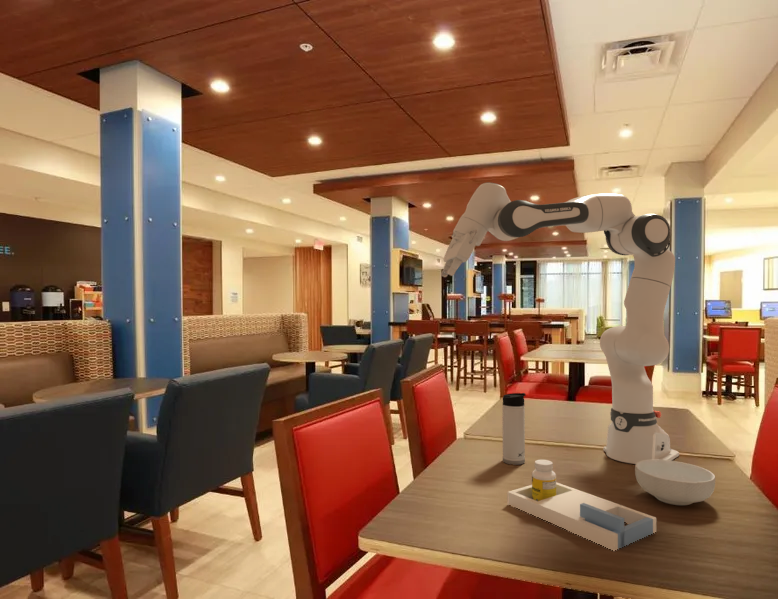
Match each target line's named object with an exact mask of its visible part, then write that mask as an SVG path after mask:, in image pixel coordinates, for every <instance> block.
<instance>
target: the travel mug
mask: <svg viewBox="0 0 778 599" xmlns="http://www.w3.org/2000/svg"><path fill="white" fill-rule="evenodd" d="M525 397H527V396H526V393H525V392H522V393H521V392H520V393H519V392H517V393H514V392H512V393H508V394H507V393H506V394H504V395H503V396H502V462H503V463H505V464H507V465H511V464H513V465H512V466H516V465H517V466H520V465H523V464H525V463H526V462H525V461H526V460H525V458H526V457H525V453H526V450H525V446H526V444H525V442H526V441H525V440H526V437H525V436H526V435H525V433H526V431H525V429H526V426H525V424H526V422H525V421H526V420H525V415H526V414H525V413H526V412H525V410H526V409H525V407H526V406H525Z"/></svg>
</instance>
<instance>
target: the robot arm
mask: <svg viewBox="0 0 778 599" xmlns="http://www.w3.org/2000/svg"><path fill="white" fill-rule="evenodd" d="M469 199H470V200H469V201H468V203H467V205H466V209H465V211H464V213H462V215H460V217H459V219H458V221H457V223H456V225H455V227H454V228H453V230H452V234H451V238H452V239H451V241H450V242H449V244H448V247H447V249H446V251H445V254H444V257H443V262H444V266H443V269H442V271H441V273H440V275H441V277H443V278H447V277H448V275H449V276H450V277H452V276H454V275H455V274H456V273H457V272H456V271H457V270H458V268H460V266H461V265H462V264H463V263H465V262H468V261H469V259H470V258H471V255H472V254H473V251H474V250H475V247H476V246H477V247H479V246H481V244H482V242H483V240H484V239H485V237H486V235H487V233H488V232H489V233H490V234H491V235H492V236H493V237H495V238H496V239H497V240H500V241H503V242H508V241H513V240H515V239H518V238H523V237H526V236H528V235H530V234H532V233H533V232H535V231H537V230H538V229H542V228H550V227H560V226H565V227H566V228H567V229H568V231H570V232H572V233H581V234H582V233H583V234H585V233H587V234H588V233H595V232H603V234H604V236H605V243H606V245H607V248H608V249H609V250H610V251H611V252H612V253H614V254H616V255H619V256H630V255H632V257H633V261H634V266H633V268H634V269H633V271H632V273H631V277H630V280H629V284H628V286H627V290H626V293H625V297H624V300H623V304H624V305H623V306H624V307H625V310H626V316H627V317H626V325H616V326H613V327H610V328H608V329H606V330H604V332H602V334H601V336H600V339H599V347H600V349H601V351H602V353H603V354H604V356H605V360H606V363H607V366H608V371H609V376H610V380H611V398H612V399H611V401H612V403H611V404H612V407H611V408H610V412H609V414H610V421H611V423H610V424H608V426H607V433H606V434H607V437H606V446H603V451H604V452H605V453H606V456H607V457H608V458H610V459H612V460H615V461H618V462H620V463H621V462H622V463H626V464H634V465H636V463H637V462H639V461H642V460H653V459H654V460H670V461H674V459H676V458H677V457H680V452H679V451H677V450H676V449H673V448H671V439H670V435H669V434H668V433H667V431H665V430H664V429H663V428H662V427H661V426H659V424H657V423H658V421H657V419H660V418H661V417H662V412H661V410H654V388H653V387H654V386H653V382H652V381H651V379H650V378H649V377H648V375H647V374H648V373H647V371H646V368H645V367H650V366H657V365H659V364H661V363H663V362H664V361H665V360H666V359H667V357H668V356H669V352H670V343H669V341H668V339H667V337H666V335H665V330H664V316H665V315H664V313H665V310H666V305H667V301H668V297H669V294H670V290H671V287H672V283H673V281H674V280H673V279H674V273H675V265H676V264H675V263H676V258H675V257H676V256H675V255H674V253H673V252H672V251H671V250H669V247H670V246H671V240H670V238H671V235H672V234H671V227H670V224H669V221H668V220H667V219H666V218H665V217H664V216H663V215H659V214H655V213H646V214H641V215H635V214H634V212H633V206H632V203H631V200H630V199H629V198H628V197H627V196H626V195H623V194H620V193H619V194H618V193H594V194H593V193H592V194H587V195H582V196H577V197H574V198H571V199H569V200H567V201H564V202H555V203H546V204H538V203H533V202H531V201H530V202H529V201H527V200H523V199H522V200H521V199H516V200H512V201H511V200H510V197H509V196H508V194H507V190H506V188H505V187H504V186H502V185H501V184H498V183H494V182H484V183H481V184H480V185H479V186H478V187H477V188H476V190H474V192H473V194H472V196H471V197H470V198H469Z"/></svg>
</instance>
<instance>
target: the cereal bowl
mask: <svg viewBox="0 0 778 599" xmlns="http://www.w3.org/2000/svg"><path fill="white" fill-rule="evenodd" d="M634 465H635V467H634V474H635V478H636V482H637V483H638V485H639V486H640V488H642V490H644V491H645V492H647V493H648V494H649V495H651V496H653V497H654V498H655V499H656V500H658V501H660V502H663V503H665V504H669V505H675V506H688V505H689V506H690V505H692V504H693V503H700V502H703V501H706V500H707V499H709V498H711V496H712V494H713V493H714V491H715V487H716V476H715V473H713V472H712V471H710V470H709V469H706V468H704V467H702V466H698V465H696V464H691V463H688V462H687V463H686V462H682V461H676V460H671V461H670V460H654V459H653V460H642V461H639V462H637V463H636V464H634Z"/></svg>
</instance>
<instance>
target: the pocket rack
mask: <svg viewBox="0 0 778 599" xmlns="http://www.w3.org/2000/svg"><path fill="white" fill-rule="evenodd" d="M509 505H511V506H510V507H512V506H513V507H512V508H514V507H516V508H518V509H520V510H519V511H521V510H523V511H525V512H527V513H526V514H528V513H529V514H528V515H530V514H532V515H534V516H536V517H535V518H537V517H539V518H541V519H543V520H546V521H548V522H551V523H553V524H555V525H557V526H559V527H562V528H564V529H566V530H568V531H567V532H569V531H570V532H569V533H571V532H572V533H571V534H573V533H574V535H575V534H577V535H576V536H578V535H579V536H578V537H580V536H582V537H583V538H582V537H581V538H582V539H584V538H586V539H585V540H587V539H588V540H587V541H589V540H591V541H593V542H592V543H594V542H595V543H594V544H596V543H597V544H596V545H598V544H600V545H602V546H601V547H603V546H604V547H603V548H605V547H606V548H605V549H607V548H608V549H607V550H609V549H611V550H610V551H612V550H613V552H616V551H618V550H620V549H619V548H621V549H623V548H625V547H627V546H629V544H630V543H632V544H634V543H636V542H638V541H640V540H639V539H641V540H642V538H643V539H645V538H647V537H649V536H648V535H650V536H652V535H654V534H656V533H657V517H656V516H653V515H650V514H647V513H645V512H642V511H639V510H636V509H633V508H631V507H627V506H625V505H622V504H619V503H616V502H613V501H611V500H608V499H605V498H602V497H599V496H596V495H593V494H591V493H589V492H585V491H583V490H579V489H577V488H573V487H571V486H568V485H565V484H562V483H560V482H557V481H556V496H553V497H550V498H547V499H544V500H541V501H535V500H533V499H532V484H530V485H526V486H522V487H519V488H516V489H513V490H507V506H509ZM516 508H515V509H516ZM518 509H517V510H518ZM523 511H522V512H523ZM525 512H524V513H525ZM532 515H531V516H532ZM534 516H533V517H534ZM539 518H538V519H539ZM541 519H540V520H541ZM543 520H542V521H543ZM546 521H545V522H546ZM548 522H547V523H548ZM624 522H626V523H628V524H626V523H624ZM553 524H552V525H553ZM625 524H626V525H625ZM555 525H554V526H555ZM557 526H556V527H557ZM559 527H558V528H559ZM562 528H561V529H562ZM564 529H563V530H564ZM566 530H565V531H566ZM655 532H656V533H655ZM653 533H654V534H653ZM651 534H652V535H651ZM646 536H647V537H646ZM644 537H645V538H644ZM637 540H638V541H637ZM591 541H590V542H591ZM635 541H636V542H635ZM633 542H634V543H633ZM600 545H599V546H600ZM626 545H627V546H626ZM630 545H631V544H630ZM624 546H625V547H624ZM622 547H623V548H622ZM617 549H618V550H617ZM615 550H616V551H615Z"/></svg>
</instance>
